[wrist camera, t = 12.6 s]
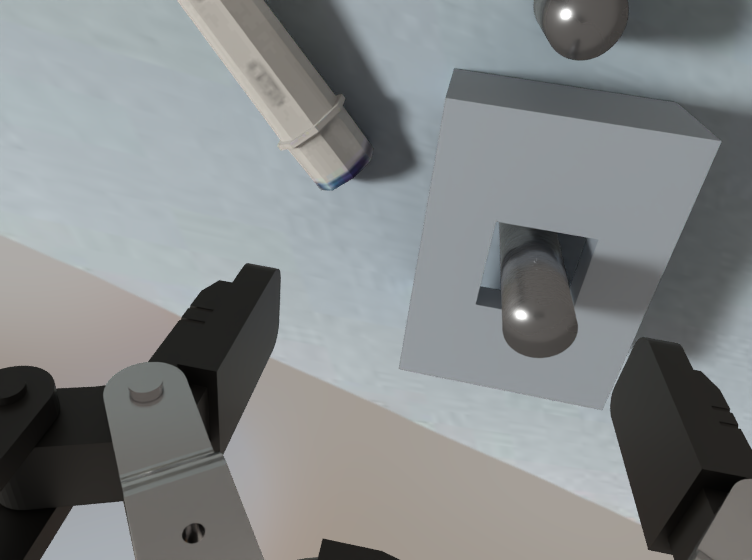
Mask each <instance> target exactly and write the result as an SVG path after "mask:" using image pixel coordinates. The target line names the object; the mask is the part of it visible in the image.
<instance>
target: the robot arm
mask: <svg viewBox="0 0 752 560" xmlns="http://www.w3.org/2000/svg"><path fill="white" fill-rule="evenodd" d="M280 282H281V275H280V270H279V269H276V268H271V267H265V266H260V265H255V264H249V263H246V264H245V265H244V266H243V268H242V269H241V271H240V272H239V274H238V275H237V277H236V278H235V280H234V281H233V282H226V281H221V280H219V281H217V282H216V283H214V284H212V285H211V286H209V287H207V288H206V289H204V290H202V291H201V292H200V293H199V295H198V296H197V297H196V299H195V300H194V301H193V303H192V304H191V305H190V308H188V309H187V311H186V312H185V313H184V315H183V316H182V319H181V320H179V321H178V323H177V324H176V325H175V327H174V328H173V329H172V331H171V332H170V333H169V335H168V336H167V337H166V339H165V340H164V341H163V343H162V344H161V345H160V347H159V348H158V349H157V351H156V352H155V353H154V355H153V356H152V357H151V359H150V360H149V361H148V362H145V363H139V364H136V365H132V366H130V367H127V368H125V369H123V370H121V371H120V372H118V373H117V374H115V375H114V376H113V377H112V378H111V379H110V380H109V381H108V383H107V384H106V385H105V386H97V387H81V388H80V387H79V388H58V389H56V386H55V383H54V380H53V377H52V376H51V375H50V374H49V373H48V372H47V371H45V370H43V369H41V368H38V367H33V366H14V367H8V368H3V369H0V560H40V559H41V557H42V556H43V554H44V552H45V551H46V549H47V548H48V546H49V544H50V543H51V541H52V540H53V538H54V536H55V535H56V533H57V531H58V530H59V528H60V526H61V525H62V523H63V522H64V520H65V518H66V517H67V515H68V514H69V512H70V510H71V509H72V507H73V506H76V505H87V504H97V503H107V502H119V501H123V502H124V507H125V512H126V516H127V521H128V526H129V531H130V536H131V541H132V546H133V551H134V555H135V560H264V558H263V555H262V553H261V550H260V548H259V545H258V543H257V540H256V537H255V535H254V532H253V530H252V527H251V525H250V522H249V519H248V517H247V514H246V512H245V509H244V507H243V504H242V502H241V499H240V496H239V494H238V491H237V489H236V486H235V484H234V481H233V478H232V476H231V473H230V471H229V468H228V466H227V463H226V461H225V458H224V456H223V454H224V451H225V450H226V448H227V445H228V443H229V441H230V439H231V437H232V435H233V433H234V431H235V429H236V426H237V424H238V422H239V420H240V418H241V416H242V413H243V412H244V410H245V407H246V406H247V403H248V401H249V399H250V397H251V395H252V393H253V391H254V388H255V387H256V384H257V382H258V380H259V378H260V376H261V374H262V372H263V370H264V368H265V366H266V364H267V361H268V359H269V357H270V355H271V353H272V351H273V349H274V346H275V343H276V339H277V334H278V328H279V310H280ZM610 412H611V418H612V421H613V425H614V429H615V432H616V436H617V439H618V443H619V447H620V450H621V454H622V457H623V461H624V464H625V468H626V472H627V475H628V479H629V482H630V486H631V489H632V493H633V497H634V500H635V504H636V507H637V511H638V514H639V518H640V522H641V525H642V529H643V532H644V536H645V539H646V543H647V546H648V550H651V551H657V552H661V553H666V554H671V555H673V557H674V560H752V449H751V447H750V446H749V444H748V442H747V440H746V438H745V436H744V434H743V432H742V431H741V429H738V423H737V421H736V419H735V417H734V415H733V414H732V413H730V408H729V406H728V404H727V402H726V400H725V398H724V397H723V395H722V393H721V391H720V389H719V388H718V387H717V386H716V385H715V384H713V383H712V382H711V381H710V380H709V379H708V378H707V377H706V376H705V375H704V374H703V373H702V372H701V371H697V370H693V368H692V366H691V364H690V362H689V360H688V358H687V356H686V354H685V352H684V350H683V348H682V346H681V345H680V344H678V343H672V342H667V341H662V340H656V339H651V338H645V337H642V338H640V339H639V340H638V341H637V342H636V343H635V345H634V347H633V349H632V351H631V354H630V356H629V358H628V360H627V362H626V364H625V366H624V368H623V370H622V372H621V374H620V377H619V379H618V381H617V383H616V385H615V387H614V390H613V393H612V397H611V404H610ZM299 560H399V559H397V558H395V557H393V556H391V555H389V554H387V553H385V552H383V551H379V550H374V549H369V548H365V547H360V546H355V545H351V544H346V543H341V542H336V541H332V540H327V539H323V540H322V544H321V548H320V552H319V556H318V557H316V558H305V559H299Z"/></svg>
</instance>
